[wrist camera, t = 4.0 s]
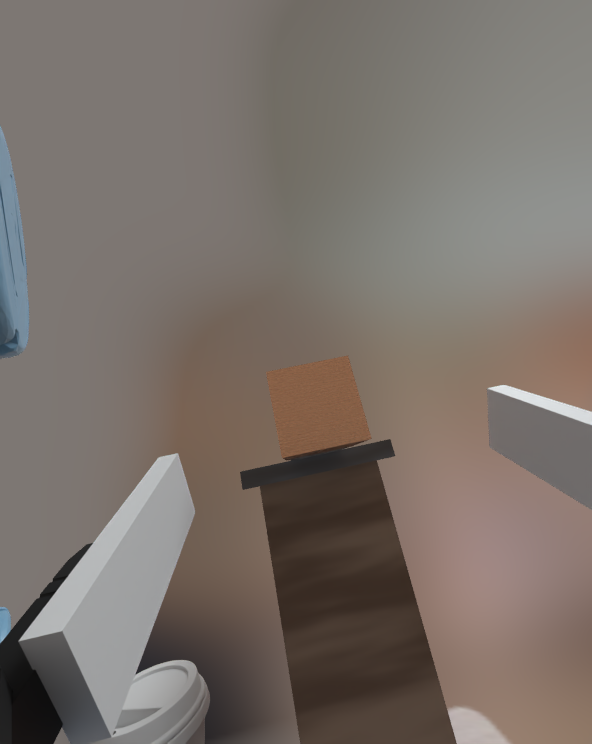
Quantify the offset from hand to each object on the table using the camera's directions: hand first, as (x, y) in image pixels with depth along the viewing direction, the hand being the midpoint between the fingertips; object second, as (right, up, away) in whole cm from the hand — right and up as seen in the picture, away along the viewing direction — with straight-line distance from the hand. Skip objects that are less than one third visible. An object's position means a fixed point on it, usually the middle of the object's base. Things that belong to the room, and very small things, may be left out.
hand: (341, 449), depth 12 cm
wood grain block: (0, -4, +12) cm, 12 cm away
